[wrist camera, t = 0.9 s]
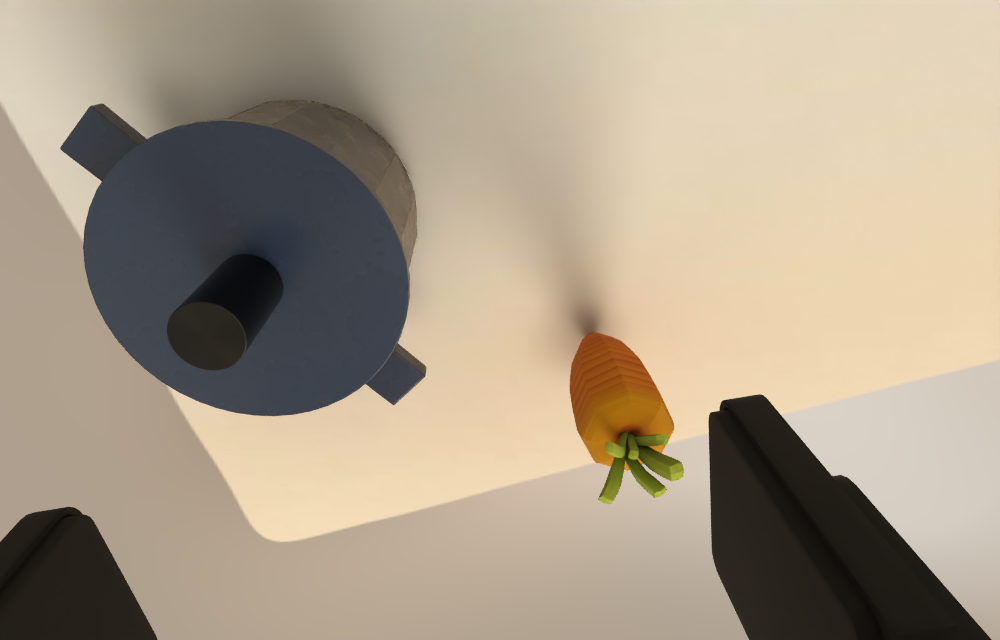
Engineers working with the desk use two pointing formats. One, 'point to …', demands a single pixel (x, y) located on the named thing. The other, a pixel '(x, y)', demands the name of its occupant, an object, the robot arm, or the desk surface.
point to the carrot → (621, 415)
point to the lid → (247, 267)
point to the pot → (340, 132)
